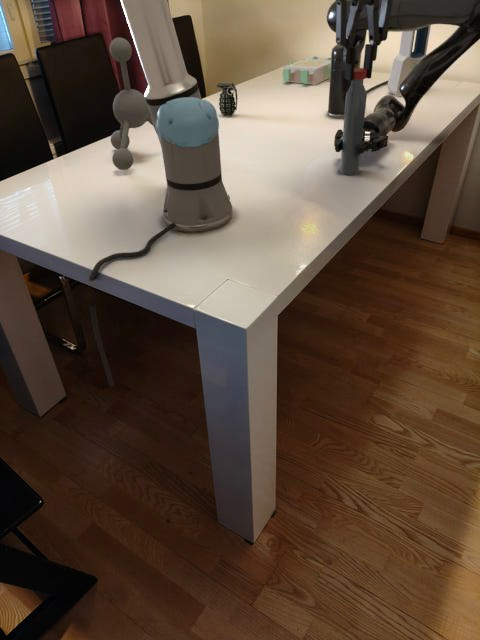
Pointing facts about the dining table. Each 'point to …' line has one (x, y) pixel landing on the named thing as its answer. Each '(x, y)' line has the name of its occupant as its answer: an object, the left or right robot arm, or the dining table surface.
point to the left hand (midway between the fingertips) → (357, 78)
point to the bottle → (353, 127)
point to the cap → (360, 73)
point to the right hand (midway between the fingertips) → (347, 149)
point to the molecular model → (126, 107)
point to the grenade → (227, 99)
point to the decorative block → (308, 71)
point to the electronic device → (408, 57)
